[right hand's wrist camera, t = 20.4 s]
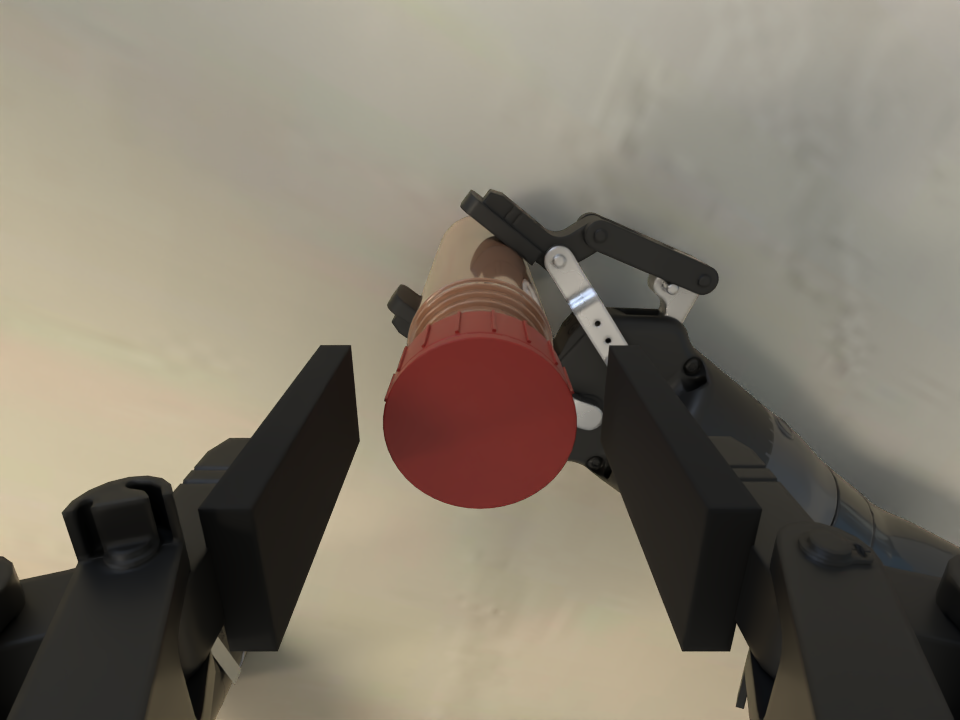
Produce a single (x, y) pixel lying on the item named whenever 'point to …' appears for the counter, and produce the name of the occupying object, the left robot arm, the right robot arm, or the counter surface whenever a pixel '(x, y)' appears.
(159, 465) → the counter surface
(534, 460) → the cap
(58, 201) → the counter surface
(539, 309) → the bottle
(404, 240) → the counter surface
